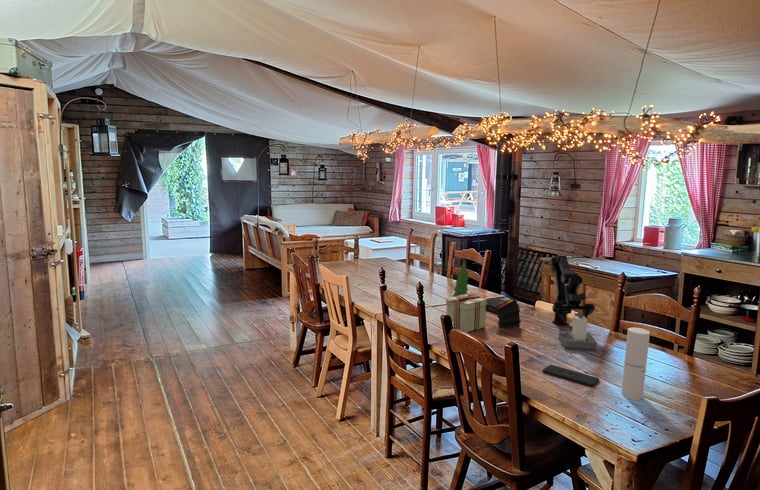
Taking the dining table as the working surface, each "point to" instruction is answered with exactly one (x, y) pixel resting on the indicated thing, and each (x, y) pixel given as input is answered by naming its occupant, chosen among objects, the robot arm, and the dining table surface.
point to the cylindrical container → (635, 363)
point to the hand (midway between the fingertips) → (575, 323)
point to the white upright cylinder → (579, 328)
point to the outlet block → (577, 342)
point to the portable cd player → (494, 304)
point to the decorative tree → (461, 281)
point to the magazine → (508, 314)
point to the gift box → (467, 311)
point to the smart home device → (571, 375)
